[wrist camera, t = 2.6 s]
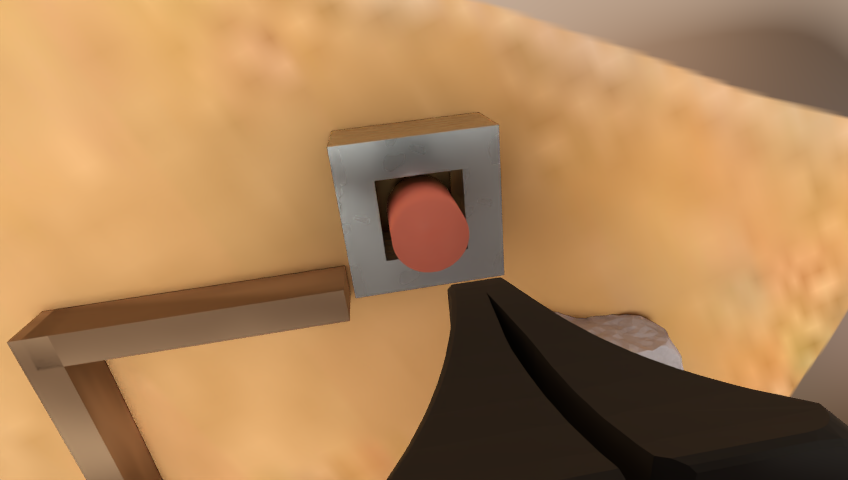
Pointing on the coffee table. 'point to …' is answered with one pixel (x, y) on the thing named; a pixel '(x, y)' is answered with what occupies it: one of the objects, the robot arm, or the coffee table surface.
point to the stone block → (633, 336)
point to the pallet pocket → (151, 332)
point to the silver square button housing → (408, 156)
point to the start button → (426, 224)
